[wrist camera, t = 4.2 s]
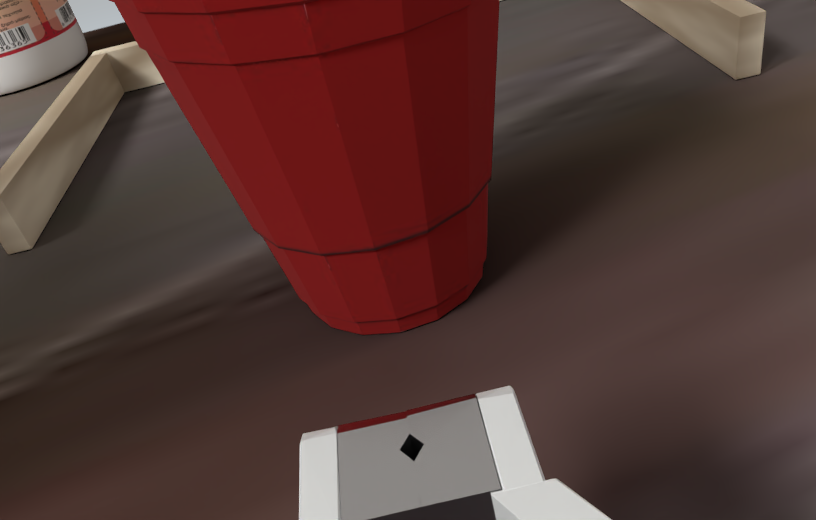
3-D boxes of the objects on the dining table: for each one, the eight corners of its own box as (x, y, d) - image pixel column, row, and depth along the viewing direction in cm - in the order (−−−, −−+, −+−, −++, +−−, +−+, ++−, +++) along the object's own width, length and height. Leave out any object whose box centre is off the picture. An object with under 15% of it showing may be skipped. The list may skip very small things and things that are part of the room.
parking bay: (7, 254, 28) (-27, 202, 27) (112, 90, 43) (94, 51, 42) (760, 73, 28) (766, 11, 26) (599, -29, 43) (597, -72, 42)
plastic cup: (633, 356, 17) (621, -229, 10) (208, 442, 18) (-72, -60, 11) (533, 157, 26) (491, -227, 19) (253, 218, 27) (115, -134, 20)
